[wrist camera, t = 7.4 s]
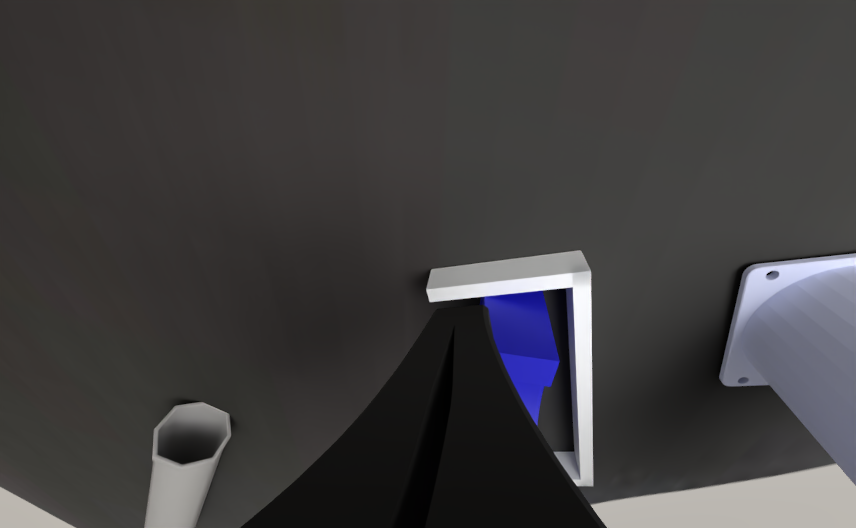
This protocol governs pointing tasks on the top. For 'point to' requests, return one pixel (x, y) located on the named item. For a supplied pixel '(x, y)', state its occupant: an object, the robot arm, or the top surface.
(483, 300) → the cable clip
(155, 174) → the top surface
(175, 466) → the tube
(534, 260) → the bracket
